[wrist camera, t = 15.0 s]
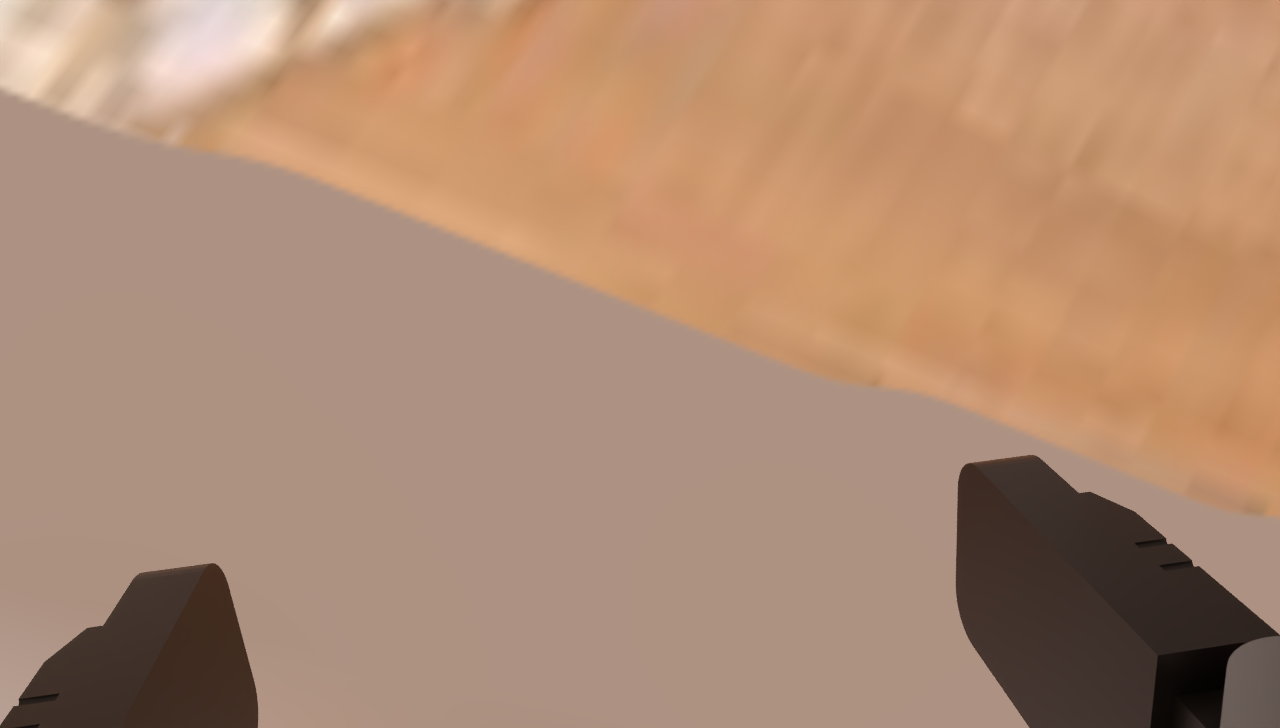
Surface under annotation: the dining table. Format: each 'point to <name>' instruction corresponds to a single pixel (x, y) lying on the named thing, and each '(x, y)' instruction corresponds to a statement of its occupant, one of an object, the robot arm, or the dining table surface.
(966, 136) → the dining table surface
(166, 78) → the dining table surface
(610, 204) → the dining table surface
